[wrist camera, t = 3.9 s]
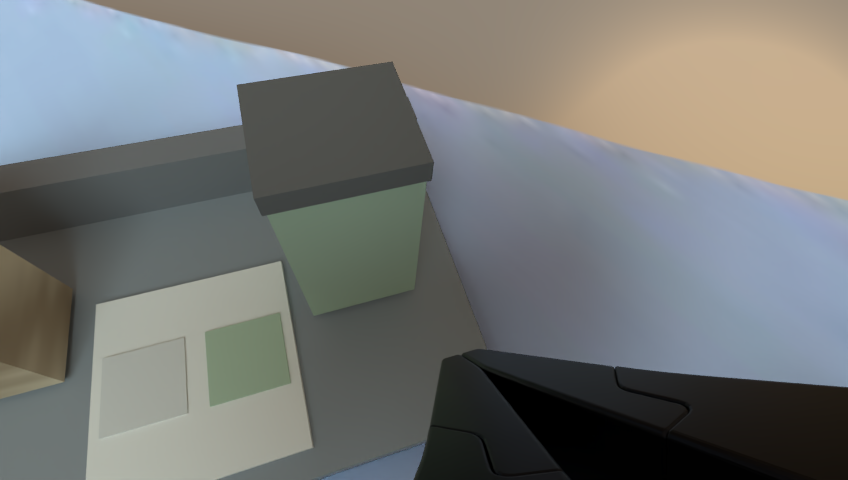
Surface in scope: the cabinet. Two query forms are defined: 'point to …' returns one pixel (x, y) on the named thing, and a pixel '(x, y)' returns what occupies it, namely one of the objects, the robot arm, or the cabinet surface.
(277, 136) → the sage block
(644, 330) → the cabinet surface
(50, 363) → the beech block
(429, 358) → the switch board
